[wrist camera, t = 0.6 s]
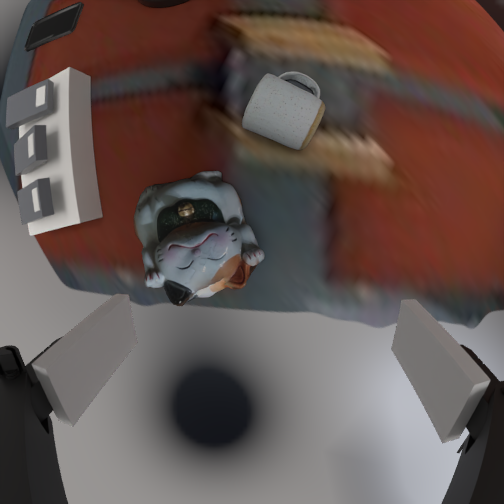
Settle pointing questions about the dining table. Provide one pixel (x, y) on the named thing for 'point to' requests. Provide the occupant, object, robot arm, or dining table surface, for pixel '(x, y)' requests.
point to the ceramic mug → (285, 110)
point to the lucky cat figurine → (195, 237)
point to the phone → (54, 26)
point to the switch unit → (67, 154)
